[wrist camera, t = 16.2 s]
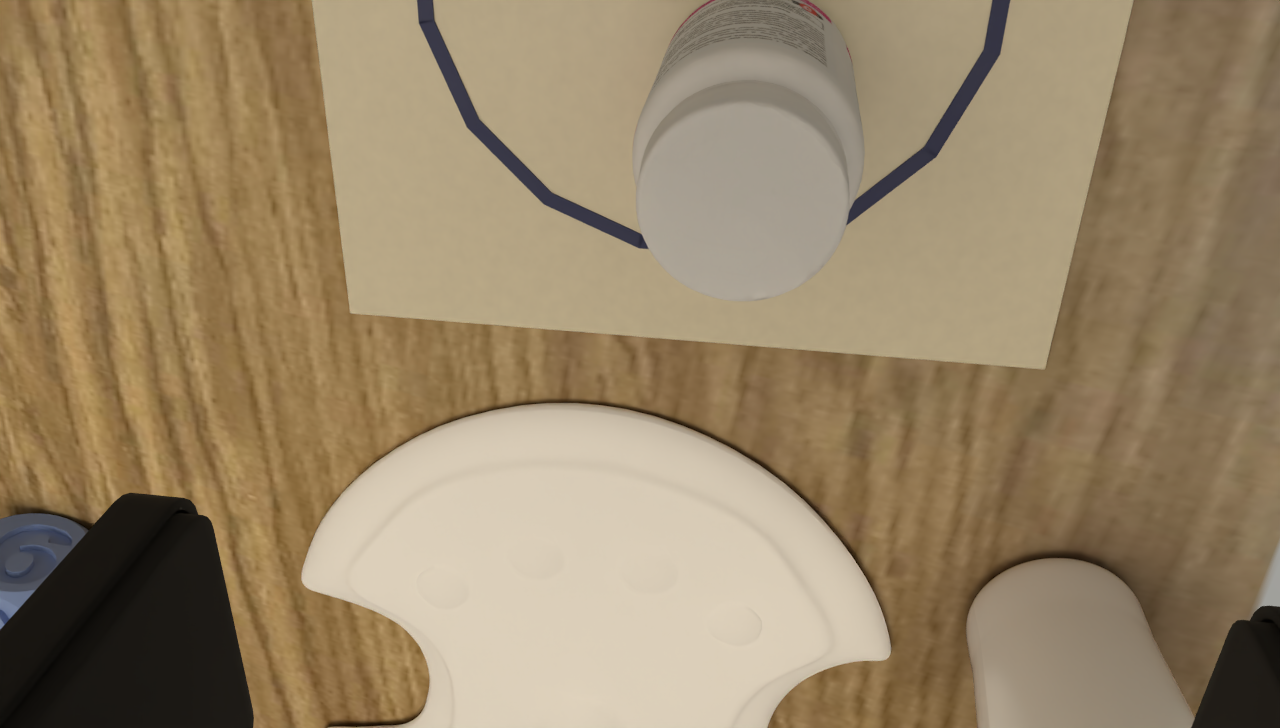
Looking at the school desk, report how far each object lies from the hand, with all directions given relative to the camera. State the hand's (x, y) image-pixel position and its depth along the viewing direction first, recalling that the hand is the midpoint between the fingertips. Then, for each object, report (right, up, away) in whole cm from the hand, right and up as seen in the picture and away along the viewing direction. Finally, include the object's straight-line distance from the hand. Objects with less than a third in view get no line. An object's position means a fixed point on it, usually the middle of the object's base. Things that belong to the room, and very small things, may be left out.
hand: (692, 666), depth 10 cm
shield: (-2, -9, +29) cm, 31 cm away
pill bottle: (+2, +10, +17) cm, 20 cm away
